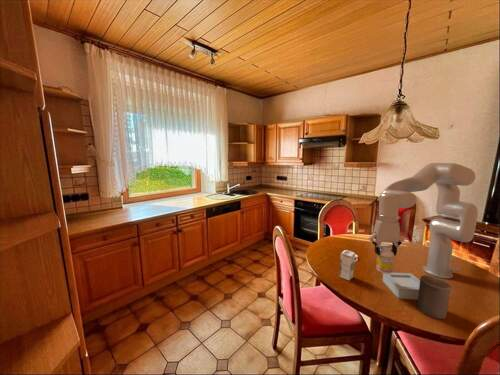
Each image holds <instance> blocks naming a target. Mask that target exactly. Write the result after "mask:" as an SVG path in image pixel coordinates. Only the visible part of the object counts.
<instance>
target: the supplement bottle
mask: <svg viewBox="0 0 500 375" xmlns="http://www.w3.org/2000/svg"><path fill="white" fill-rule="evenodd" d="M391 246H392V245H391V244H388V243H386V244H385V243H381V244H380V246H379V247H380V255H377V254H376V270H377V271H379V272H380V273H382V274H383V273H386V274H390V273H394V272H393V270H394V269H393V268H394V258H395V255H394V253H393V252H392V251H391V250H392V247H391Z"/></svg>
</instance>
